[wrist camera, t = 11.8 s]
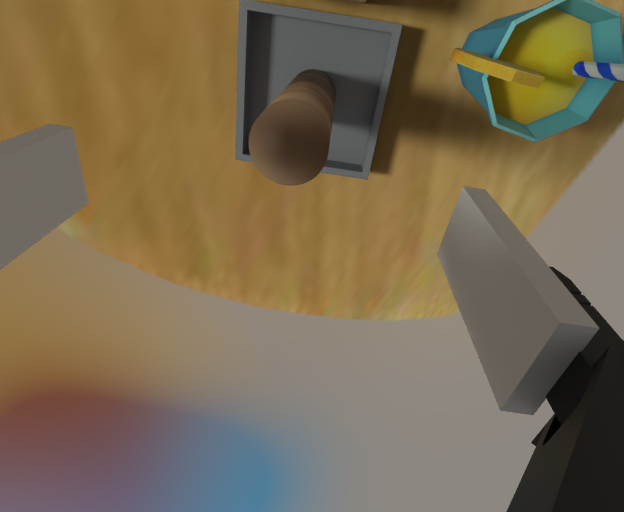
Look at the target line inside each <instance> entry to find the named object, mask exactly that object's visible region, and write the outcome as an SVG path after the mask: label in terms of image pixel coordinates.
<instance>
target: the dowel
mask: <svg viewBox="0 0 624 512" xmlns="http://www.w3.org/2000/svg"><path fill="white" fill-rule="evenodd" d="M335 98H336V91H335V86H334V84H333V82H332V80H331V79H330V77H329V76H328V75H327V74H325V73H324V72H322V71H320V70H316V69H308V70H305V71H302V72H301V73H299V74H298V75H297V76H296V77H295V78H294V79H293V80H292V81H291V82H290V83H289V84H288V85H287V87H286V88H285V89H284V90H283V91H282V92H281V93H280V94H279V95H278V96H277V97H276V98H275V99H274V100H273V102H272V103H271V104H270V105H269V106H268V107H267V108H266V109H265V110H264V111H263V112H262V113H261V114H260V115H259V117H258V118H257V119H256V120H255V122H254V124H253V125H252V128H251V130H250V134H249V151H250V155H251V158H252V160H253V162H254V164H255V166H256V167H257V169H258V170H259V171H260V172H261V173H262V174H263V175H264V176H265V177H267V178H268V179H270V180H271V181H274V182H276V183H279V184H282V185H300V184H303V183H306V182H308V181H310V180H311V179H313V178H314V177H316V176H317V175H318V174H319V173H320V171H321V170H322V169H323V167H324V165H325V163H326V161H327V158H328V153H329V145H330V137H331V130H332V122H333V114H334V106H335Z"/></svg>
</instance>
